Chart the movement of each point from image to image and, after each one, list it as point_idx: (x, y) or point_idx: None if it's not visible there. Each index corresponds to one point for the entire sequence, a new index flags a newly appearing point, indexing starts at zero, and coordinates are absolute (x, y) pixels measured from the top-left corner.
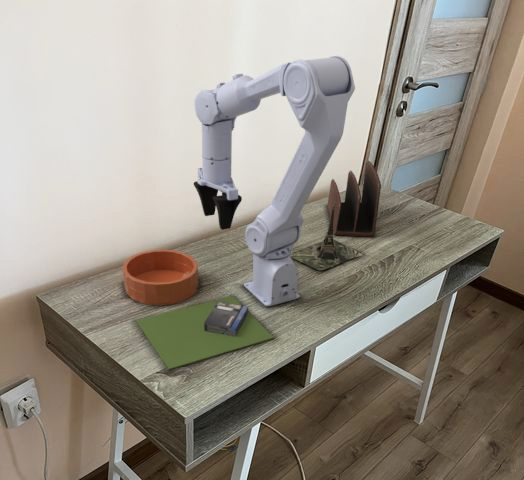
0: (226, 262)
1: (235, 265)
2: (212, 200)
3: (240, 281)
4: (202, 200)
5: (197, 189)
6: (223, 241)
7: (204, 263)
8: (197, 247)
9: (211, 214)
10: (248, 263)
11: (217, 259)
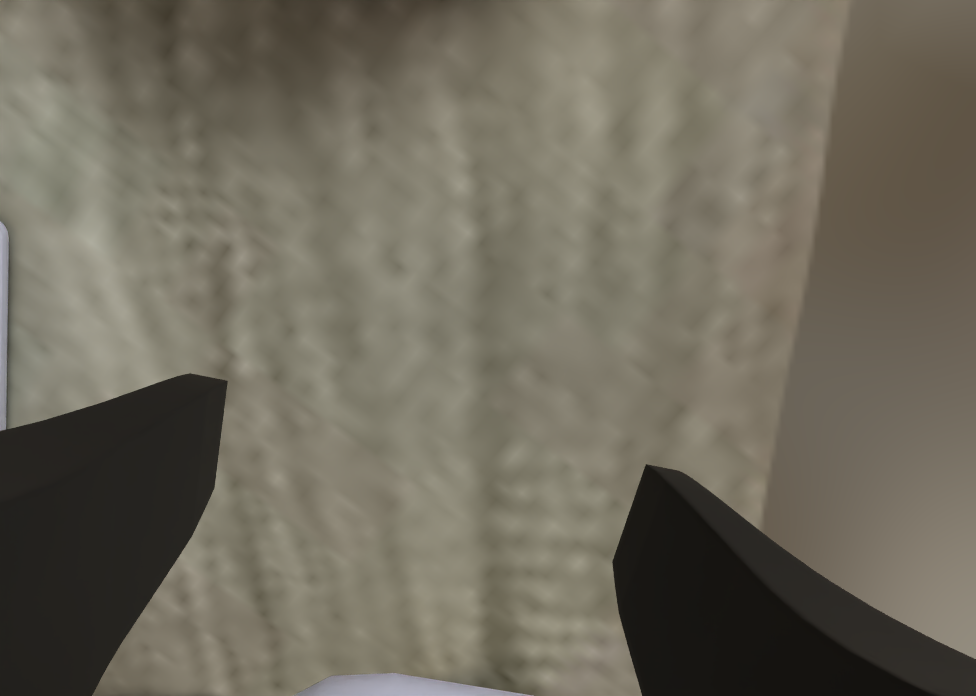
0: (396, 355)
1: (319, 376)
2: (674, 689)
3: (88, 249)
4: (742, 565)
5: (944, 668)
6: None
7: (484, 214)
8: (730, 337)
9: (625, 536)
10: (291, 463)
11: (475, 333)
